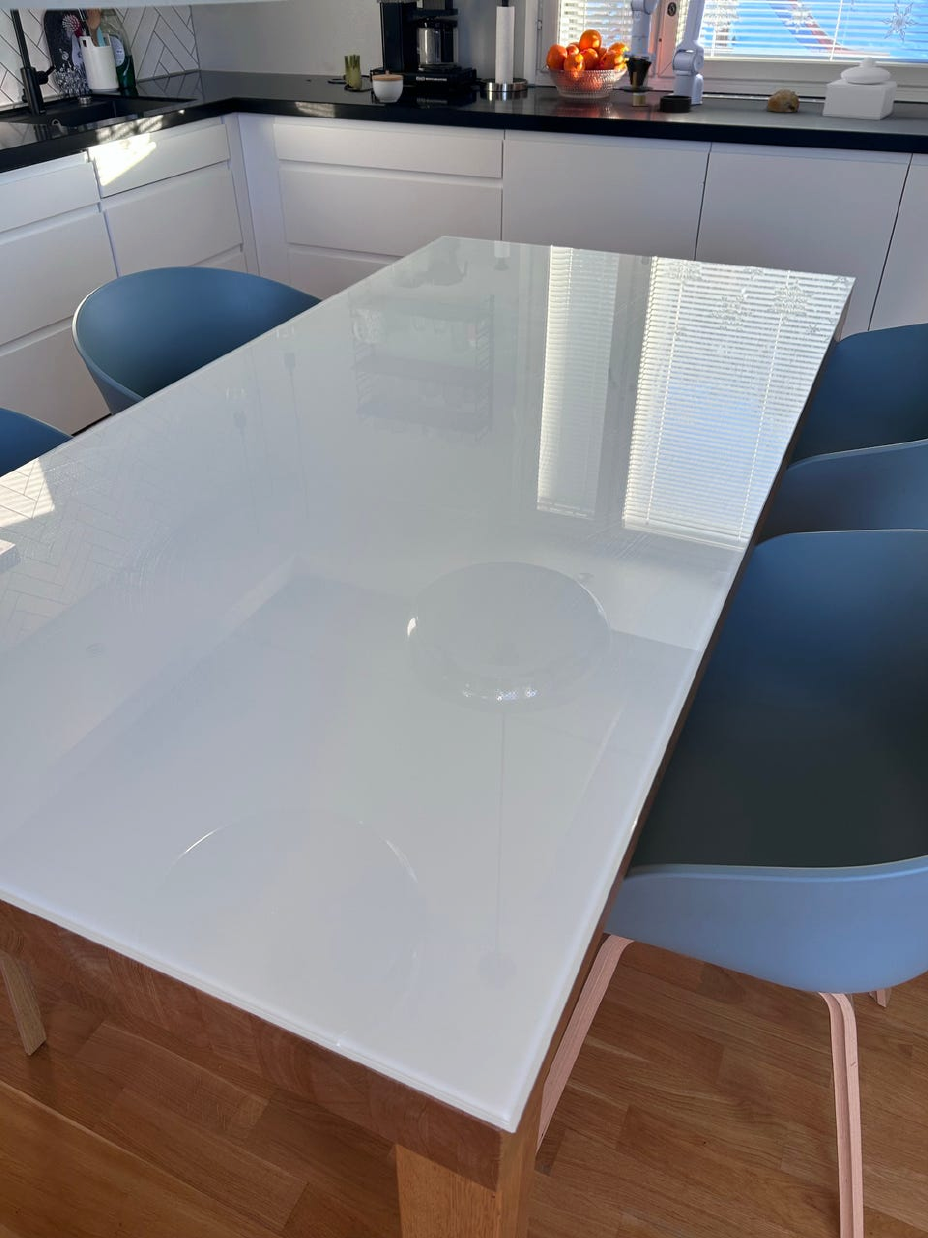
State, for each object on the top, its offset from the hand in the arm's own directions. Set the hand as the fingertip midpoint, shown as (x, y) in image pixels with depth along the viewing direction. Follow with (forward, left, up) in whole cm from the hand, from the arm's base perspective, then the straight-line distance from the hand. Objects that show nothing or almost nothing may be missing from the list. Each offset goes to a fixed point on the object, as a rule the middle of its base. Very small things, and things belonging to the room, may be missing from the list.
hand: (636, 85), depth 310 cm
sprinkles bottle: (-9, -8, -8) cm, 14 cm away
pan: (-11, +7, -7) cm, 15 cm away
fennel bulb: (+55, -100, -8) cm, 115 cm away
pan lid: (0, 0, -1) cm, 1 cm away
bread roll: (-41, +26, -8) cm, 49 cm away
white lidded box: (-55, +45, -8) cm, 71 cm away
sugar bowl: (+58, -65, -8) cm, 88 cm away
